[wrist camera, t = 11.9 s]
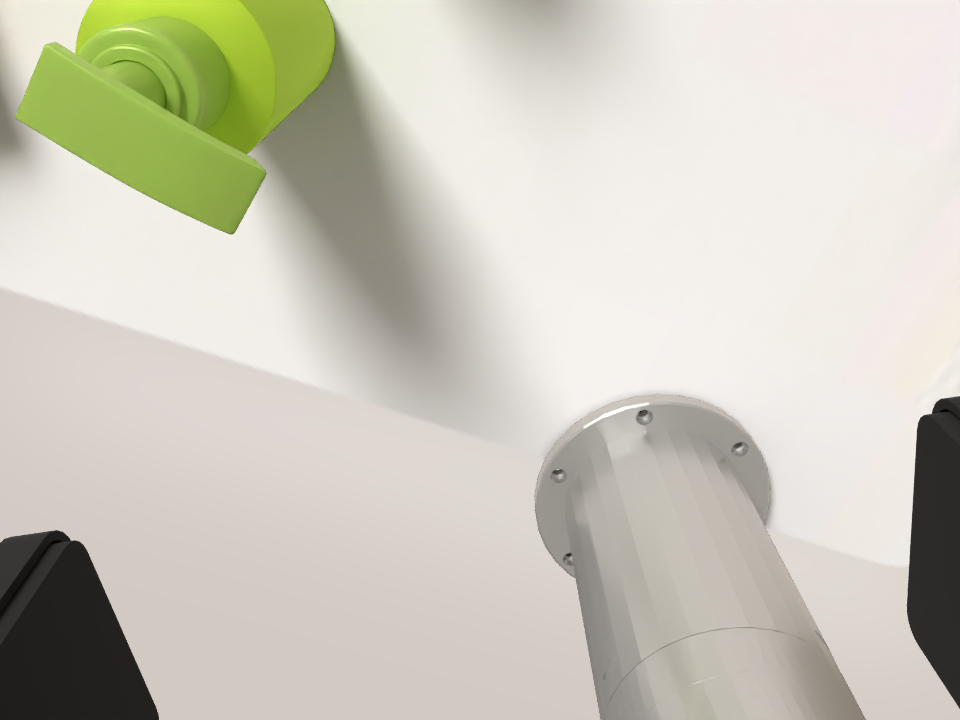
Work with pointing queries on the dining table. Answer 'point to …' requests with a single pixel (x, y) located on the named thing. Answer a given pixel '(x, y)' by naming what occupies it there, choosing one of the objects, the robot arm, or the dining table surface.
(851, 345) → the dining table surface
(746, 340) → the dining table surface
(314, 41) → the soap dispenser
